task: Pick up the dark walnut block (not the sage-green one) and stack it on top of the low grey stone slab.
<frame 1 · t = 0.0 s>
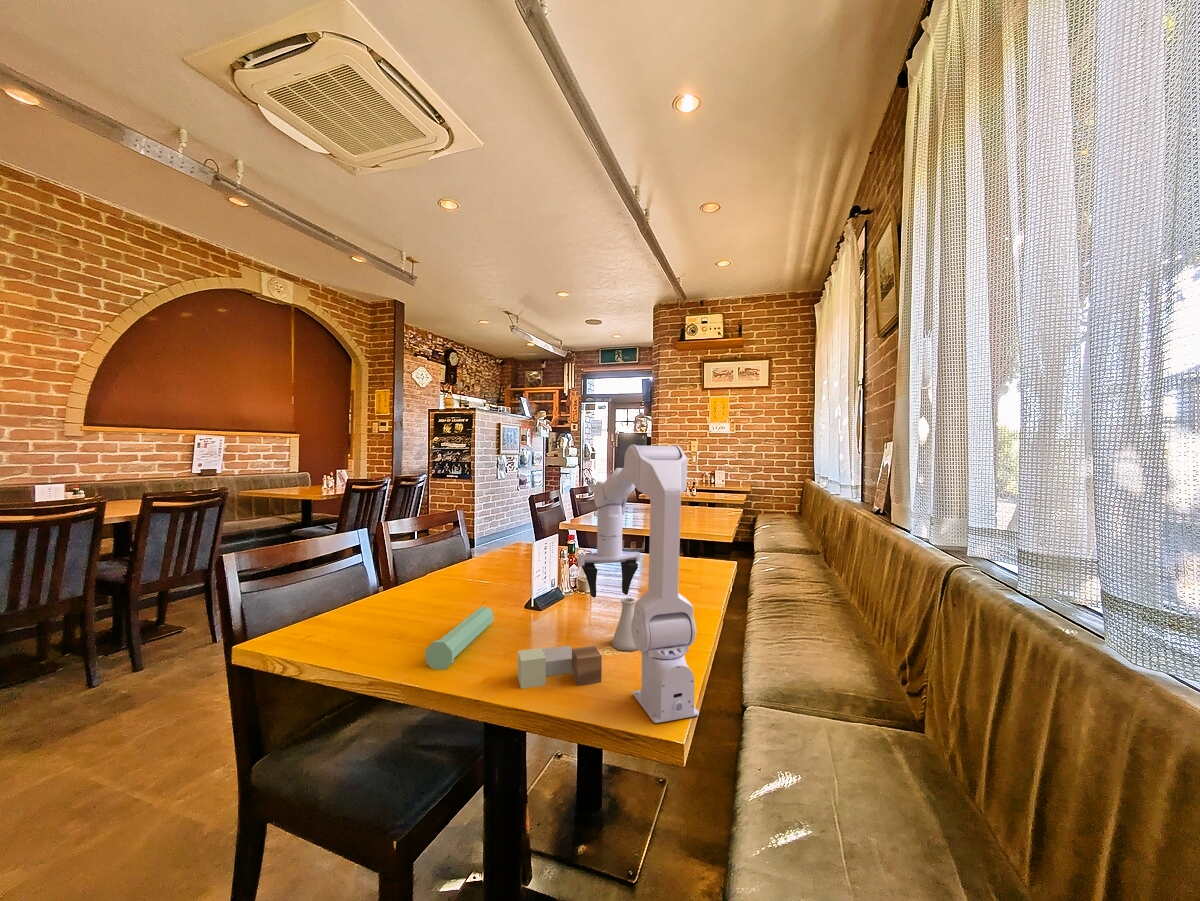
hand: (609, 594, 105), 10 cm above the table, fingers open, 7 cm apart
walnut block: (586, 678, 87), on the table
flask: (627, 645, 103), on the table
sage block: (531, 681, 86), on the table
green octagonal rod: (465, 645, 103), on the table
stone slab: (558, 668, 92), on the table
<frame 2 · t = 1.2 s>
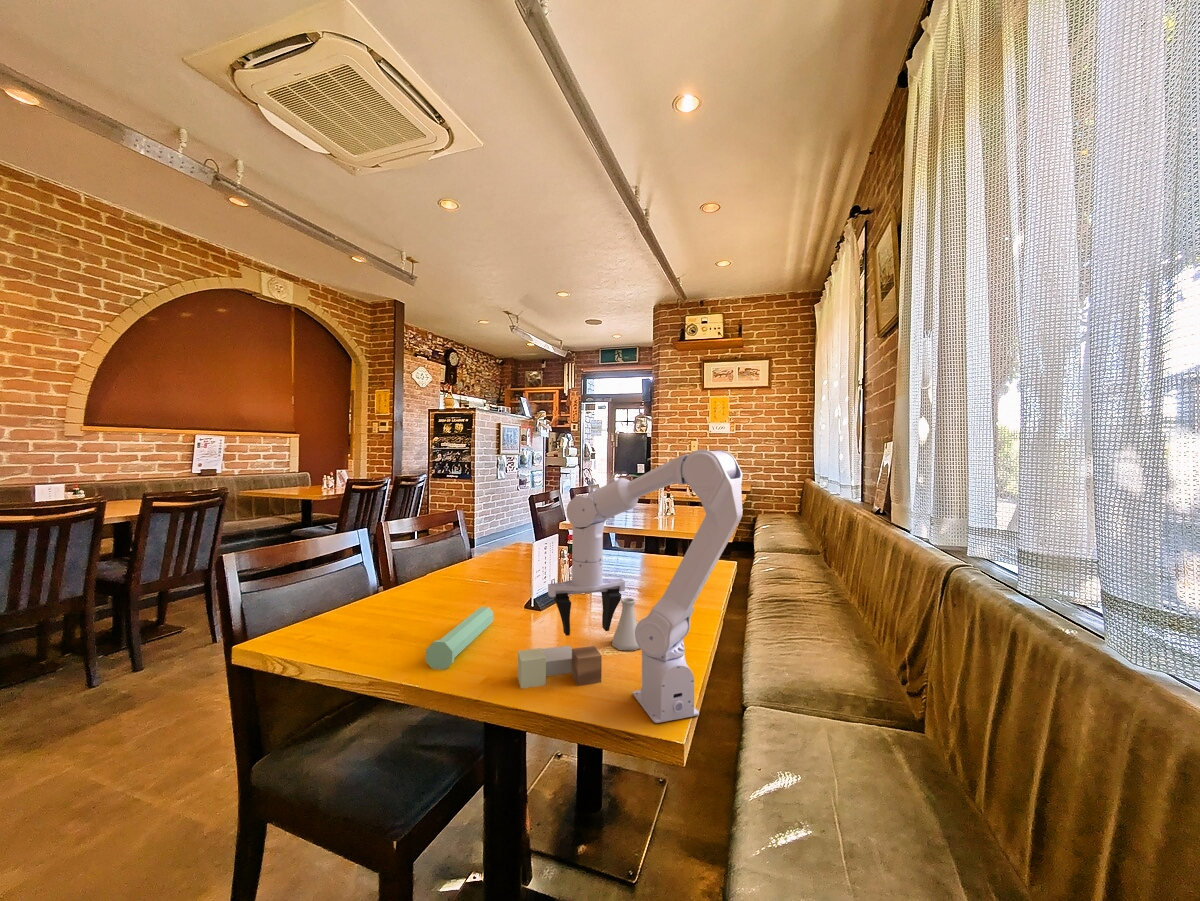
hand: (586, 631, 87), 9 cm above the table, fingers open, 7 cm apart
nothing on the table moved.
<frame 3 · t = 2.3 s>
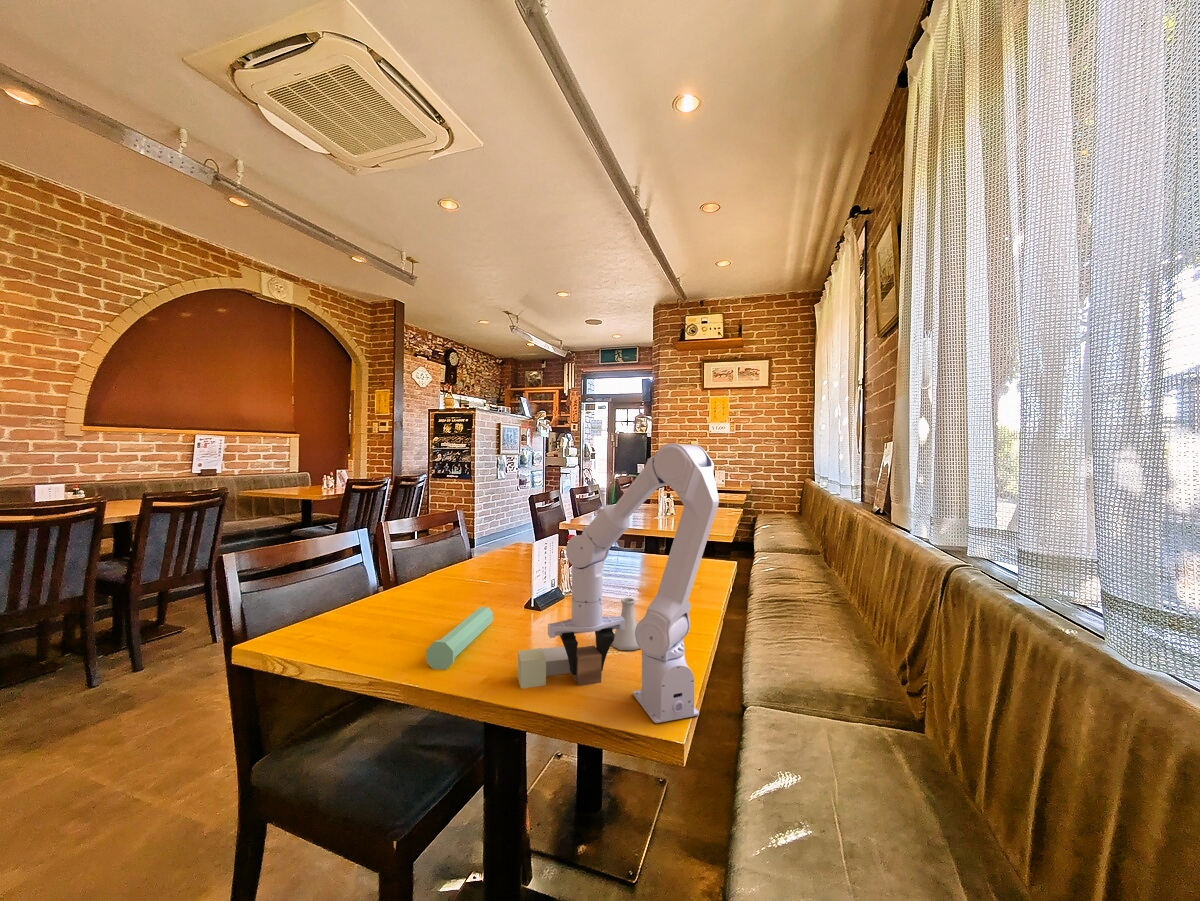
hand: (586, 670, 87), 1 cm above the table, fingers closed on walnut block, 4 cm apart
walnut block: (586, 678, 87), on the table, touching gripper
everything else where it was.
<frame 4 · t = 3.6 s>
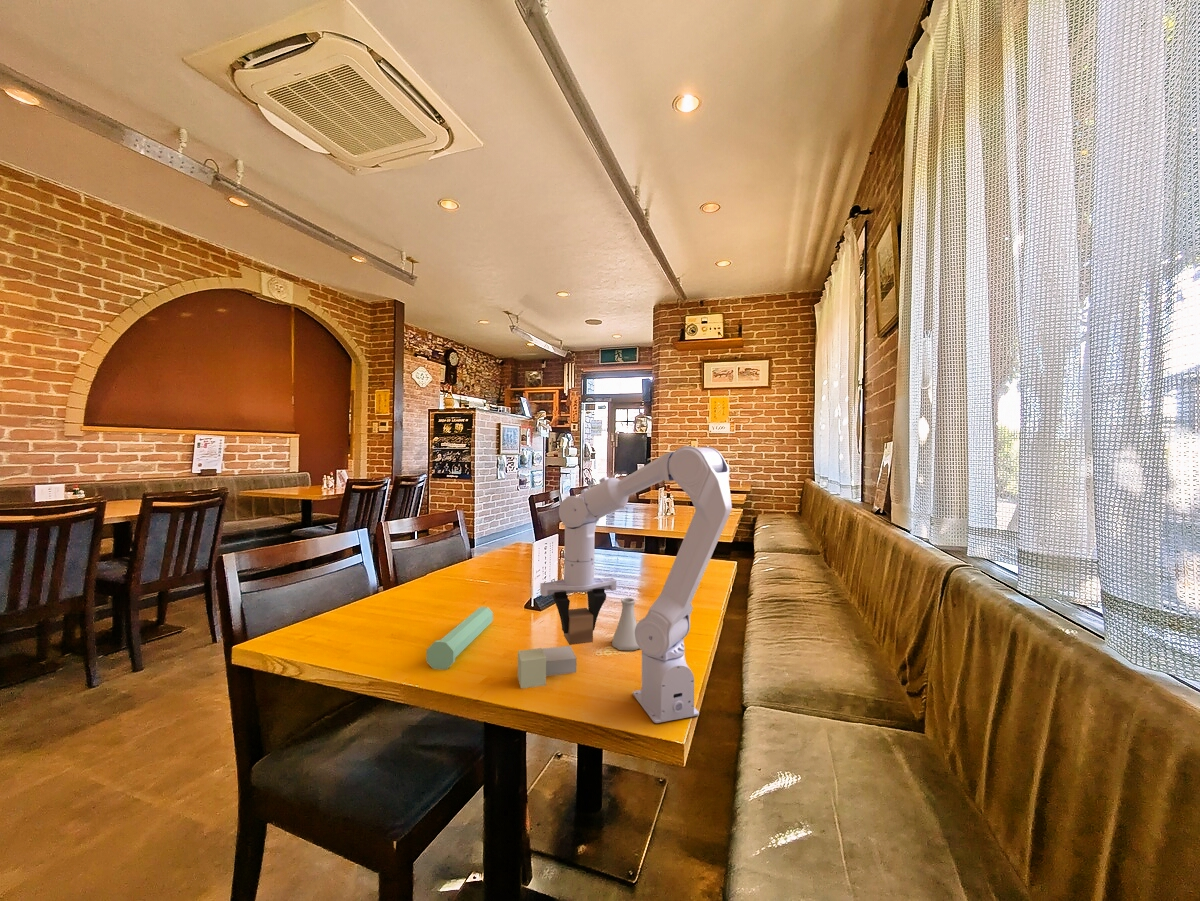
hand: (578, 630, 88), 9 cm above the table, fingers closed on walnut block, 4 cm apart
walnut block: (578, 638, 89), point 7 cm above the table, touching gripper
everything else where it was.
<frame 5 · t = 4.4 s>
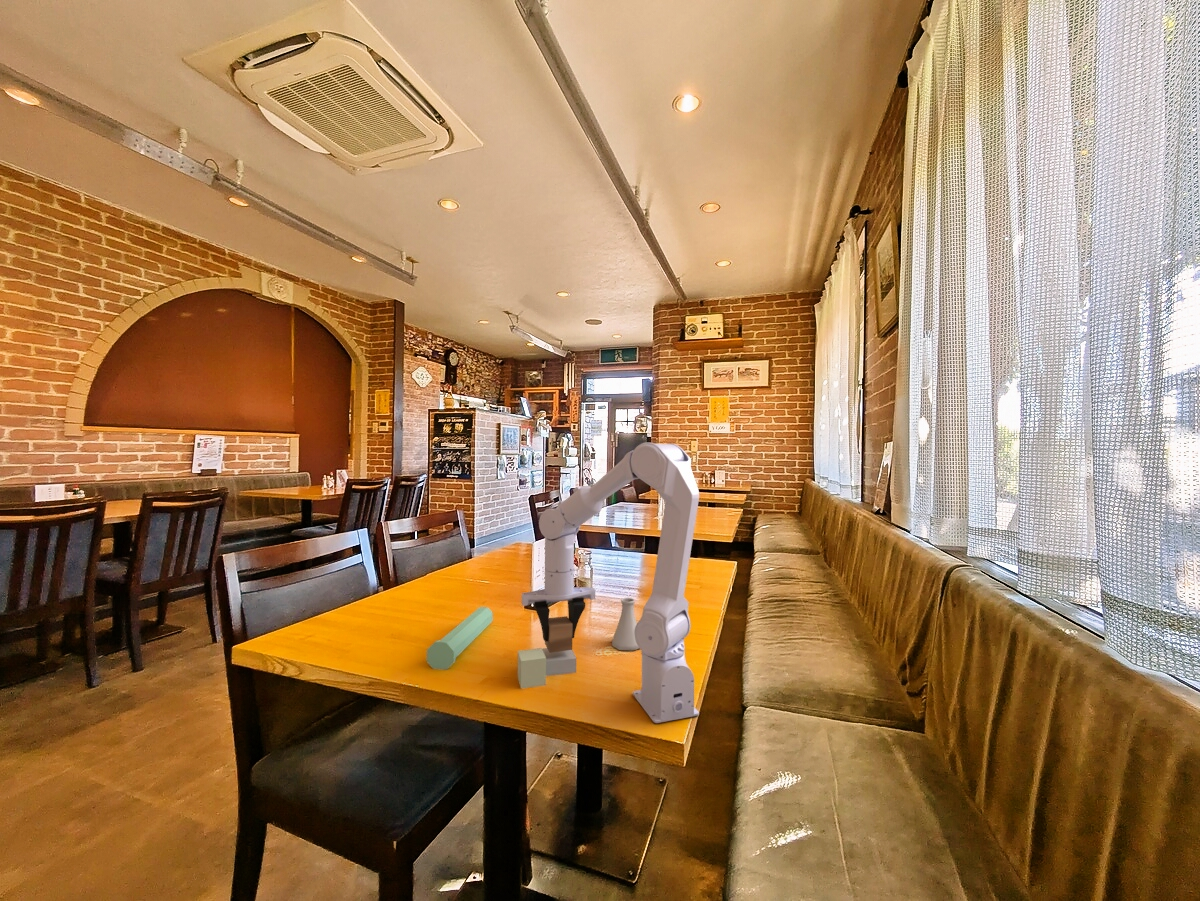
hand: (558, 637, 92), 6 cm above the table, fingers closed on walnut block, 4 cm apart
walnut block: (558, 646, 92), point 4 cm above the table, touching gripper
everything else where it was.
when the fingers open (5 cm above the table, at t = 4.9 s): walnut block drops 1 cm, resting on stone slab.
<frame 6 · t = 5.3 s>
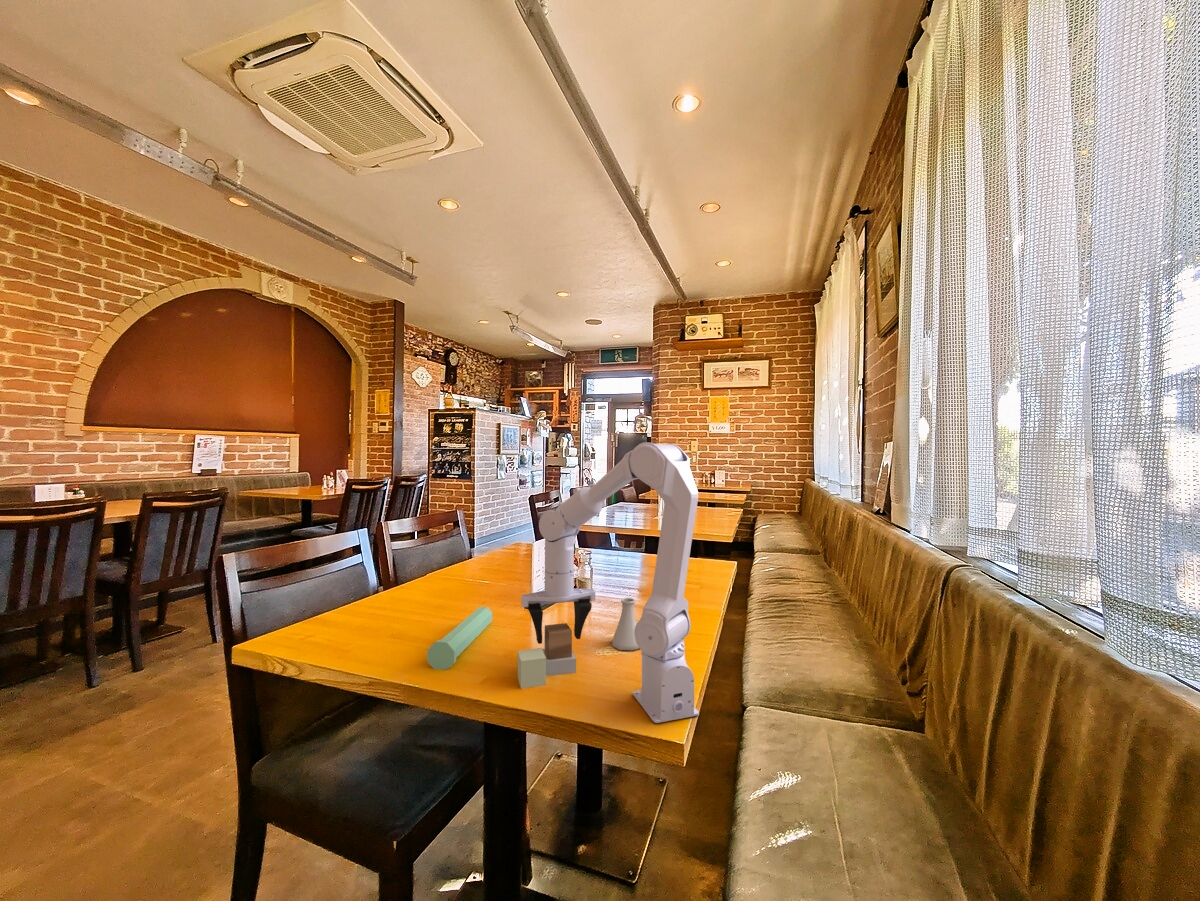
hand: (558, 639, 92), 5 cm above the table, fingers open, 7 cm apart
walnut block: (557, 653, 92), point 3 cm above the table, touching stone slab
stone slab: (558, 669, 92), on the table, touching walnut block
everything else where it was.
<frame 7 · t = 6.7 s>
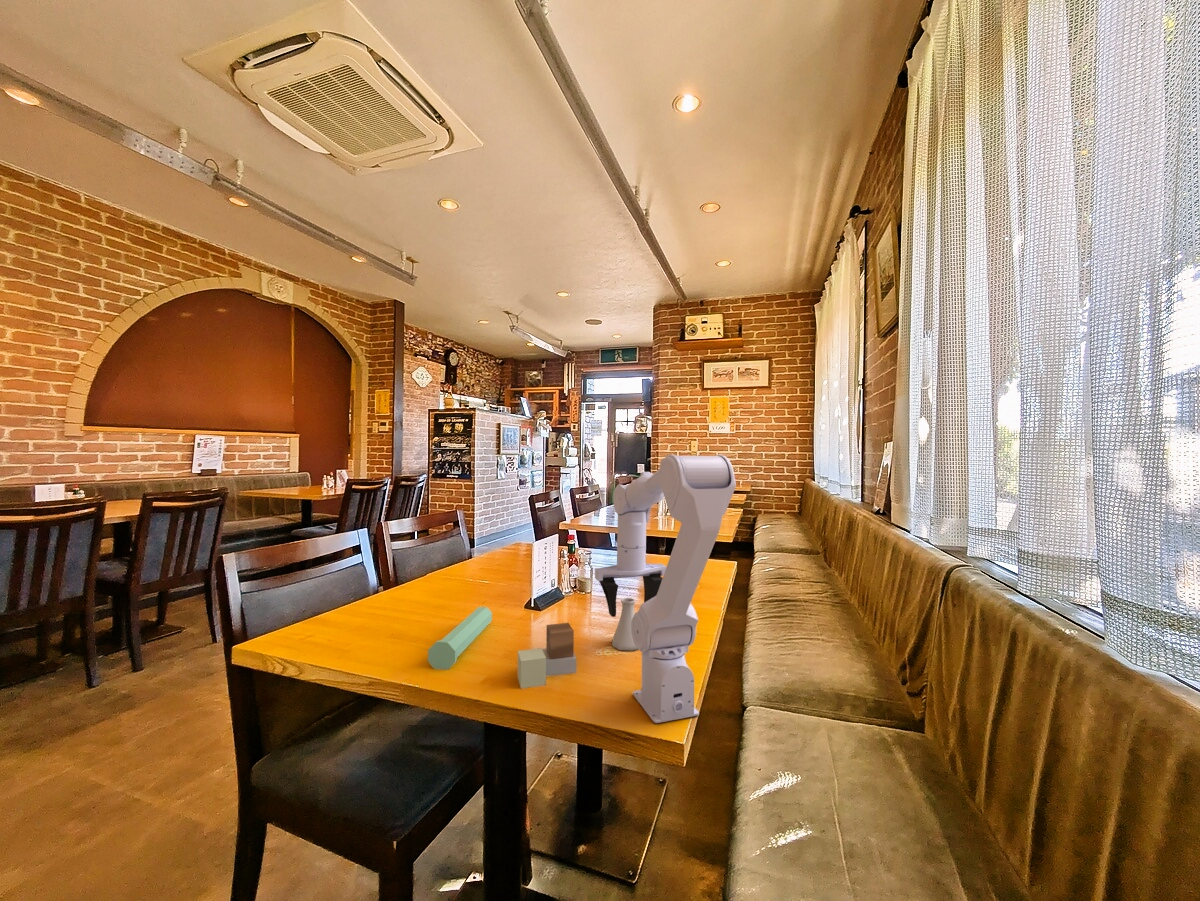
hand: (630, 613, 93), 10 cm above the table, fingers open, 7 cm apart
nothing on the table moved.
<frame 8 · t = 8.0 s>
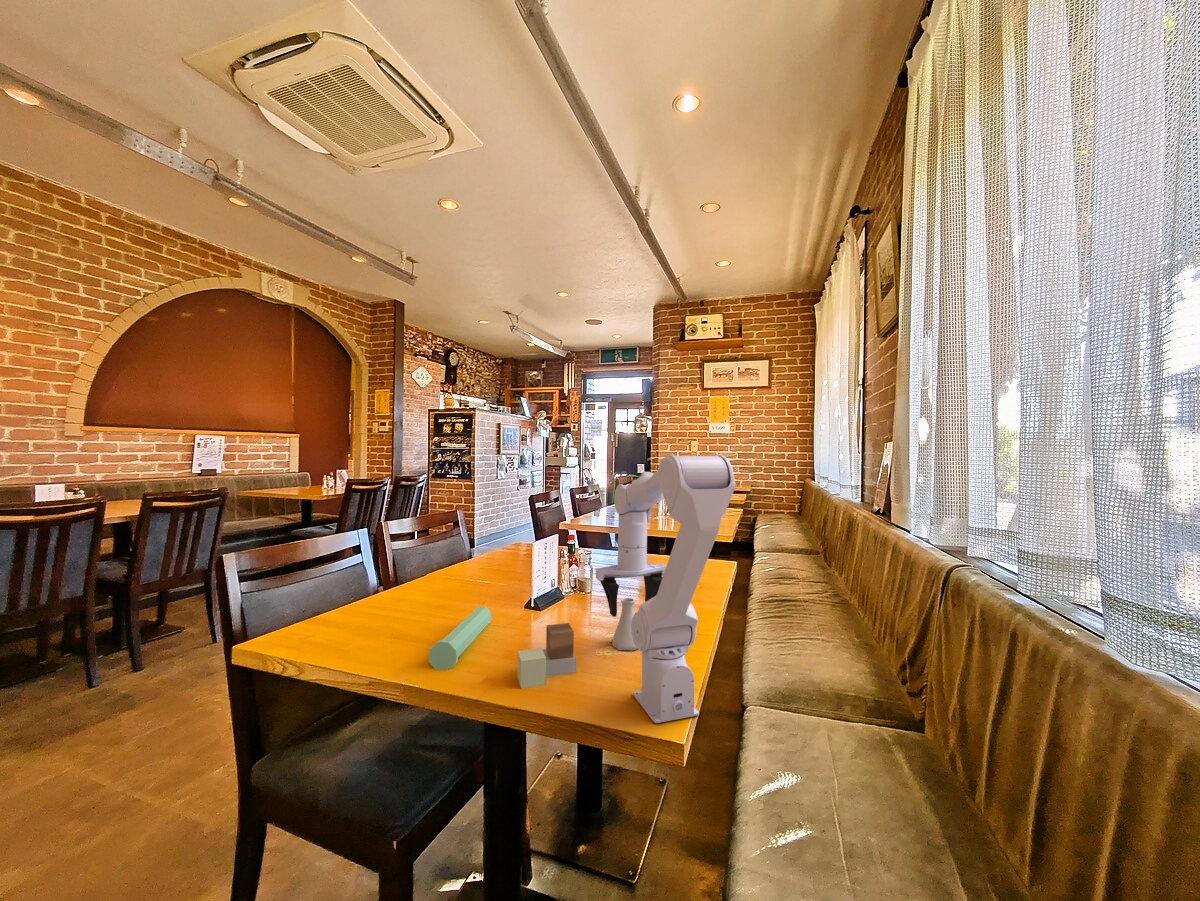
hand: (631, 612, 93), 10 cm above the table, fingers open, 7 cm apart
nothing on the table moved.
at the end: walnut block 0.2 cm off-centre on the stone slab, point 3.0 cm above the stone slab's base; walnut block tilted 0°; the gripper is holding nothing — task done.
